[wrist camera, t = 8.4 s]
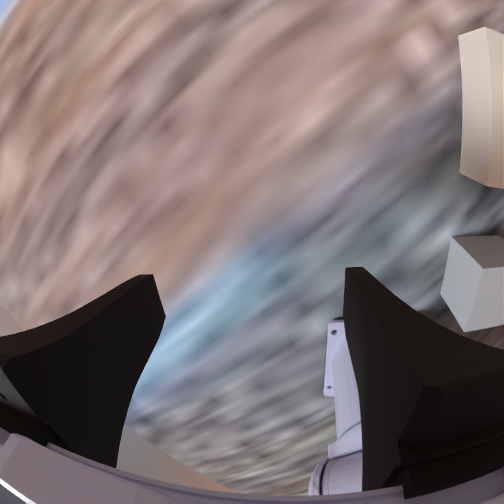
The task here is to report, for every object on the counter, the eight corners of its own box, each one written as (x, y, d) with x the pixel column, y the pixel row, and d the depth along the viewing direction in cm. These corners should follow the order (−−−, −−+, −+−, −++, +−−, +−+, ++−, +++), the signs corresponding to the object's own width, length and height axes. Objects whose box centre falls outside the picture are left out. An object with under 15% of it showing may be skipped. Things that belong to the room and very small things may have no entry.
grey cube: (485, 288, 20) (512, 322, 16) (440, 293, 21) (464, 332, 17) (498, 234, 18) (532, 263, 14) (450, 236, 19) (483, 268, 15)
